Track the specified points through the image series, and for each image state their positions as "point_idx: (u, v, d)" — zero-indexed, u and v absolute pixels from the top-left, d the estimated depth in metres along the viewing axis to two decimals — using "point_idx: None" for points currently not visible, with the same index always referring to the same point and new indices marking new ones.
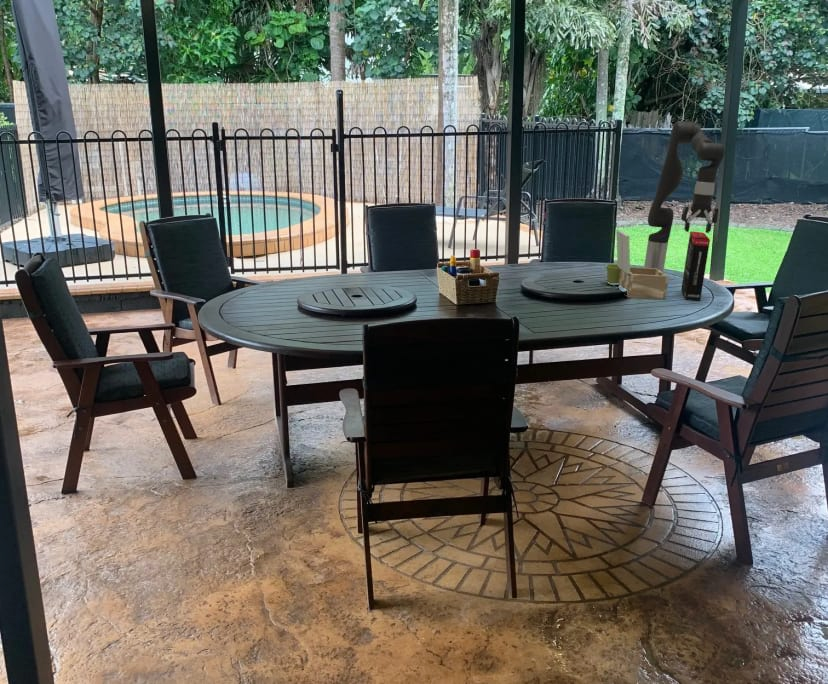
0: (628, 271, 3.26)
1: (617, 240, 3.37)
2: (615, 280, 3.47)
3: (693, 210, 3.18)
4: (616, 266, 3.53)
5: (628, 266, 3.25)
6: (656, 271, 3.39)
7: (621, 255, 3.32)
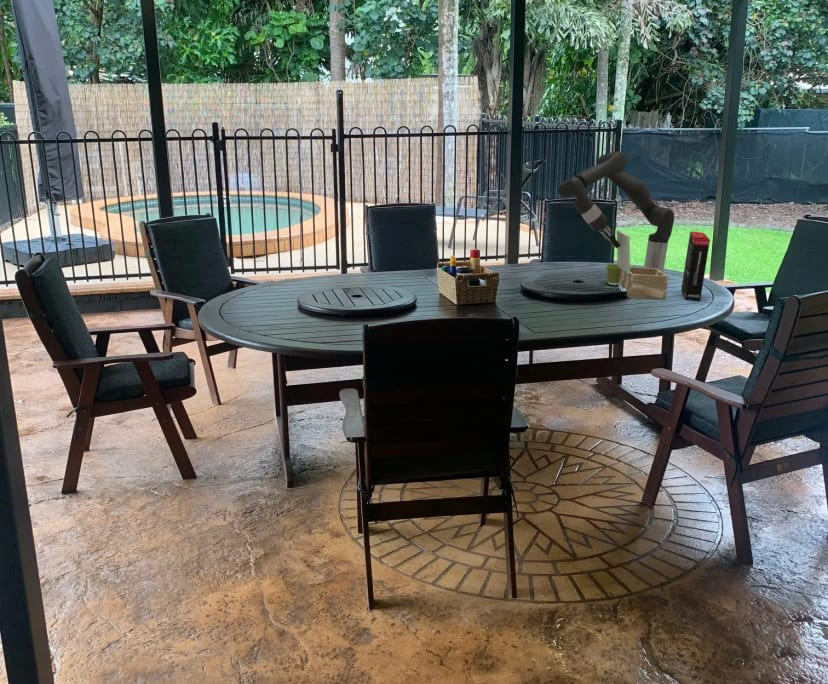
0: (628, 271, 3.26)
1: (617, 240, 3.36)
2: (615, 280, 3.47)
3: None
4: (616, 266, 3.53)
5: (628, 266, 3.25)
6: (656, 271, 3.39)
7: (621, 255, 3.32)
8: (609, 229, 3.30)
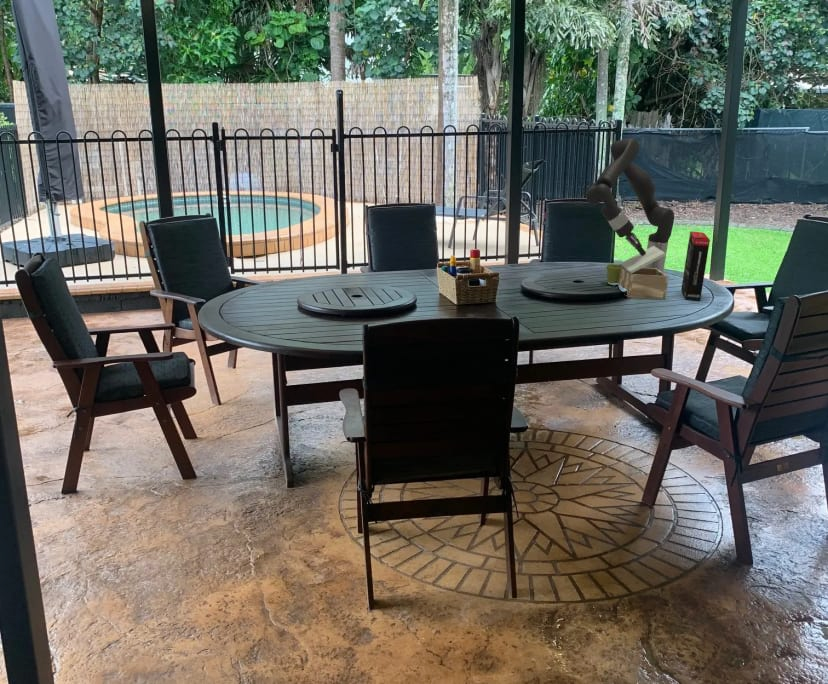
0: (632, 271, 3.26)
1: (645, 251, 3.38)
2: (615, 280, 3.47)
3: None
4: (616, 266, 3.53)
5: (637, 268, 3.26)
6: (656, 271, 3.39)
7: (637, 259, 3.33)
8: (635, 236, 3.31)
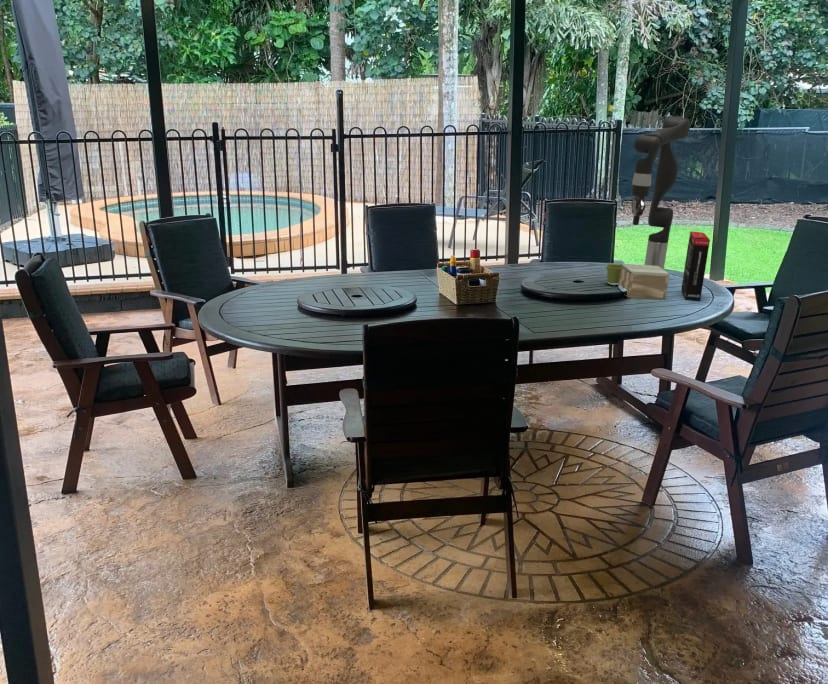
0: (633, 272, 3.26)
1: (648, 265, 3.40)
2: (615, 280, 3.47)
3: None
4: (616, 266, 3.53)
5: (638, 273, 3.26)
6: None
7: (640, 267, 3.34)
8: (643, 204, 3.30)
